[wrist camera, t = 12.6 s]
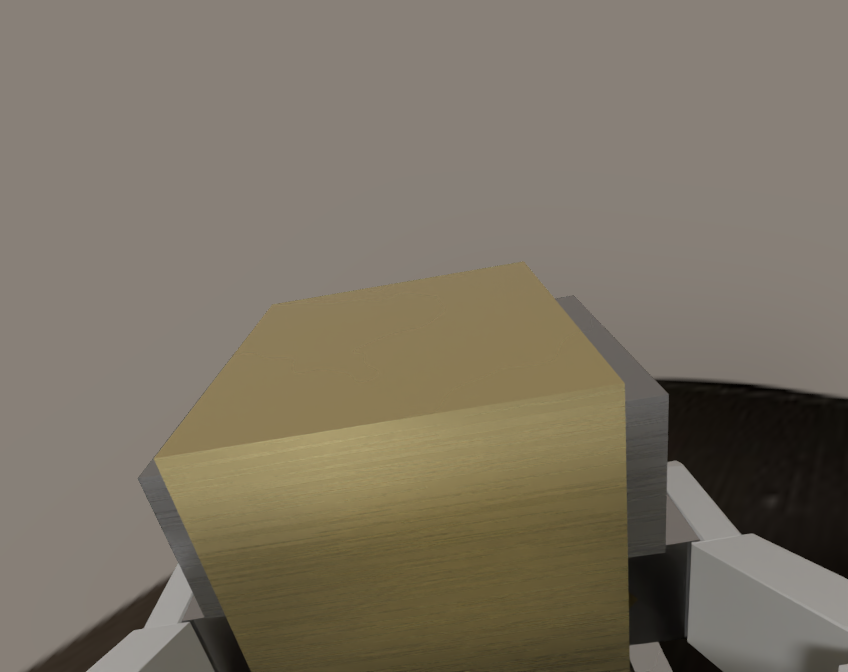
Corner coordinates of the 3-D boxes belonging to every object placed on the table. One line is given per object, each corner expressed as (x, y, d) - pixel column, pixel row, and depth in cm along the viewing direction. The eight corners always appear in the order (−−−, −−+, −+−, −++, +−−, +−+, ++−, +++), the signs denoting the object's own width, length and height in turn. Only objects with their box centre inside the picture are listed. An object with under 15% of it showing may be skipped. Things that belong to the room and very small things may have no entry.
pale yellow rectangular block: (361, 994, 9) (86, 469, 4) (376, 732, 12) (235, 310, 8) (671, 960, 8) (698, 371, 4) (590, 703, 12) (562, 254, 8)
